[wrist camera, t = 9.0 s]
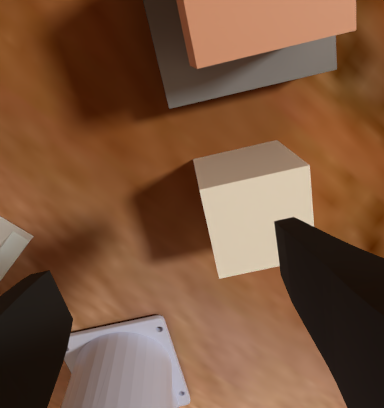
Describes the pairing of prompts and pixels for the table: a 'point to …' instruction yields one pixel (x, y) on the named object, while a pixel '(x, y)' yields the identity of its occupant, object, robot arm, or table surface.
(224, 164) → the off-white cube
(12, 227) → the pale picture frame
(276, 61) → the gray slab
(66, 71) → the table surface
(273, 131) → the table surface
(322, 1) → the terracotta cube
